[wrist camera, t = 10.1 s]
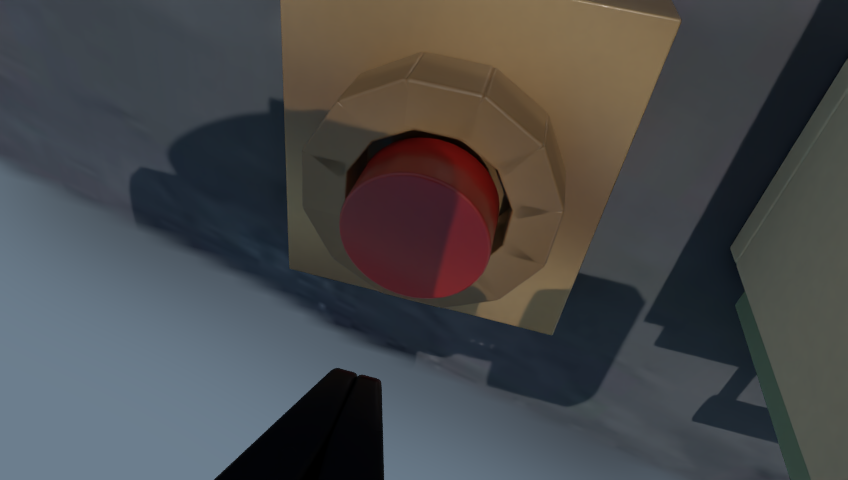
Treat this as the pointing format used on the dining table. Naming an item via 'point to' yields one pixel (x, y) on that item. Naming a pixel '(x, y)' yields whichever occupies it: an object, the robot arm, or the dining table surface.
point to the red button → (421, 218)
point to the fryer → (806, 282)
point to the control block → (471, 123)
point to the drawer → (772, 393)
